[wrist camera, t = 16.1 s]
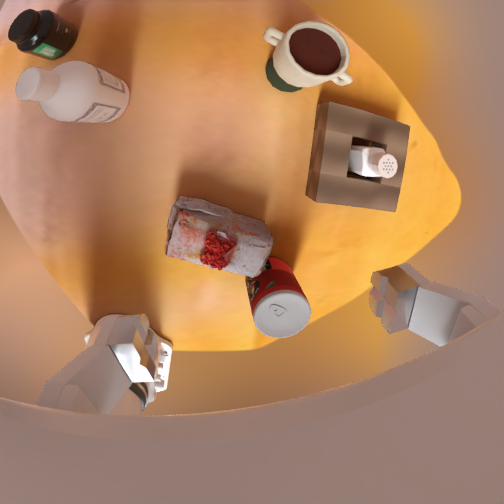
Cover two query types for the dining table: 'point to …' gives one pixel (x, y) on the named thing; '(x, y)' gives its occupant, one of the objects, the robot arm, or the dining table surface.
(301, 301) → the canned food
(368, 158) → the pepper shaker
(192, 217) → the food item
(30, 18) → the supplement bottle
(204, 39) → the dining table surface
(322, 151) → the socket
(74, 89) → the bath foam
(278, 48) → the character mug
